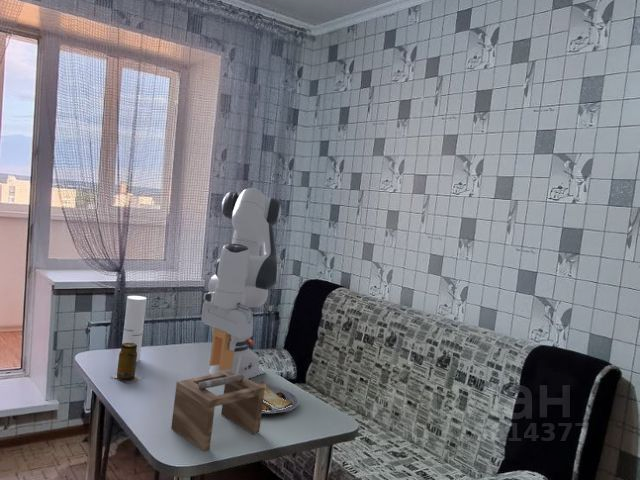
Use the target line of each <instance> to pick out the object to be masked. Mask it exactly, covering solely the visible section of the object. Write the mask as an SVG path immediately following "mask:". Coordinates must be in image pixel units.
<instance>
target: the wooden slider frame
mask: <svg viewBox="0 0 640 480" xmlns="http://www.w3.org/2000/svg"><path fill="white" fill-rule="evenodd" d="M222 385H224V387H223V394H218V395H217V394H216V393H213V392H212V391H209V388H213V387H214V388H215V387H219V386H222ZM264 391H265V387H263V386H261V385H259V383H256V382H254V381H253V380H251V379H247V378H245V377H244V376H243V374H237V373H235V372H233V371H228V372H223V373H218V374H213V375H211V374H209V375H203V376H198V377H193V378H188V379H183V380H179V381H178V380H177V381H176V385H175V391H174V392H175V394H174V401H173V402H174V403H173V408H172V409H173V410H172V419H171V427H170V428H171V429H172V430H173V431H174V432H176V433H177V434H178V435H180V436H181V437H183V438H184V439H186V440H187V441H189V443H191V444H193V445H194V446H195V447H197V448H198V449H200V450H201V451H202V452H205V451H209V450H210V449H211V441H212V434H213V433H212V432H213V423H214V416H215V409H216V408H215V407H218V406H221V413H220V415H221V416H222V415H223V417H224V416H225V417H224V418H226V419H227V418H228V419H227V420H229V419H230V422H232V421H233V422H232V423H234V422H235V423H234V424H235V425H237V424H238V426H239V425H240V426H239V427H241V428H242V427H243V429H244V428H245V429H244V430H245V431H247V430H248V431H247V432H249V431H250V432H249V433H251V432H252V433H253V434H252V433H251V434H252V435H256V434H255V433H257V434H259V433H260V428H261V421H262V414H263V413H262V412H263V411H262V406H263V398H264ZM258 432H259V433H258Z"/></svg>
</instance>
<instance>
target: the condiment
mask: <svg viewBox="0 0 640 480" xmlns="http://www.w3.org/2000/svg"><path fill="white" fill-rule="evenodd" d="M136 350H137V345H136V344H134V343H123V344H121V347H120V351H119V353H118V363H117V369H116V370H117V372H116V375H111V376H110V378H113V379H115V378H116V376H117V378H118V379H117V380H119V381H121V382H125V383H126V384H128V383H132V382H133V383H134V382H137V381H139V380H143V377H141V376H139V375H136V367H137V362H136V360H137V352H136ZM114 377H115V378H114Z"/></svg>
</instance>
